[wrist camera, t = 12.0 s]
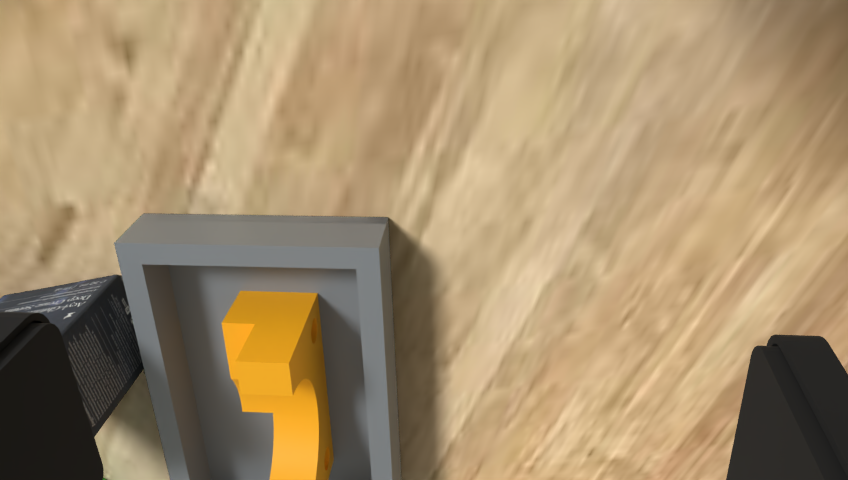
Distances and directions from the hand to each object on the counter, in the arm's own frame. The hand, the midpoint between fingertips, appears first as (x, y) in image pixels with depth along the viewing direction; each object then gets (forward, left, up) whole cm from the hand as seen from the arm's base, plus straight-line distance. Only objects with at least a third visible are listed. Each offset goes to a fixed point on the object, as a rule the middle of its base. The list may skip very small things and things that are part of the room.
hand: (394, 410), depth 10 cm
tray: (+11, +20, -28) cm, 36 cm away
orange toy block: (+10, +20, -27) cm, 35 cm away
